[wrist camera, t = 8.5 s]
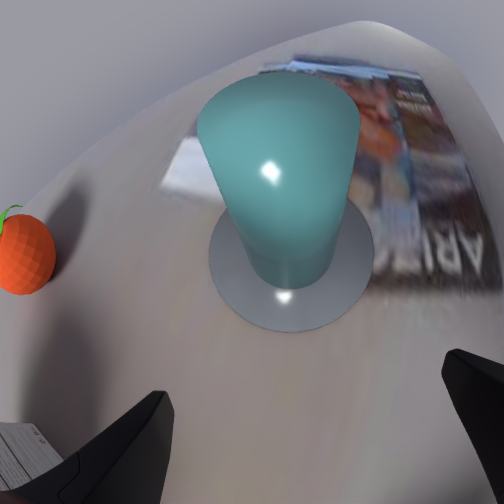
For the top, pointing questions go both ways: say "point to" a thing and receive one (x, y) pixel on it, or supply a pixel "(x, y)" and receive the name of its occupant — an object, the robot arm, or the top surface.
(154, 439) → the robot arm
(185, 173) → the top surface
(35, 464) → the supplement box
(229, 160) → the cylinder
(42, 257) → the clementine
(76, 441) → the top surface
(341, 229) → the coaster
